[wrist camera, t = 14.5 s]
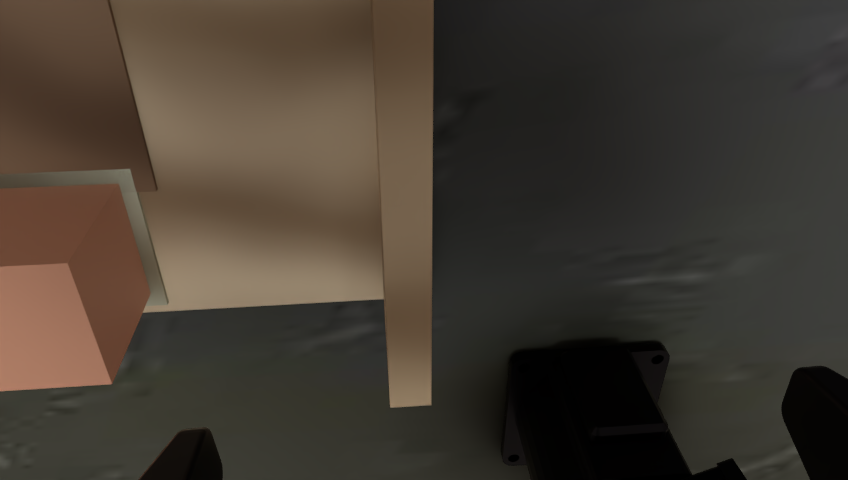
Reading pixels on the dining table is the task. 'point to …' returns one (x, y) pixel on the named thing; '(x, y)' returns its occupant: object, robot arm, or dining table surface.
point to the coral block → (66, 286)
